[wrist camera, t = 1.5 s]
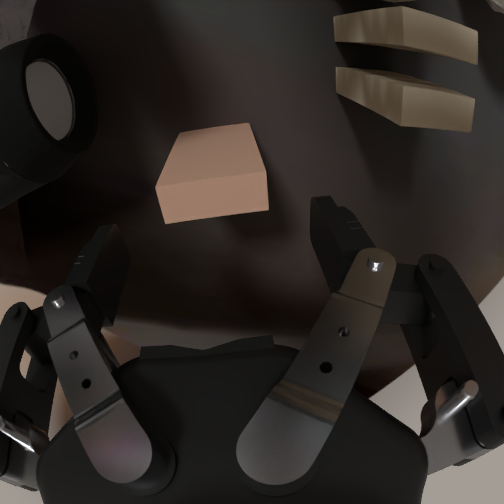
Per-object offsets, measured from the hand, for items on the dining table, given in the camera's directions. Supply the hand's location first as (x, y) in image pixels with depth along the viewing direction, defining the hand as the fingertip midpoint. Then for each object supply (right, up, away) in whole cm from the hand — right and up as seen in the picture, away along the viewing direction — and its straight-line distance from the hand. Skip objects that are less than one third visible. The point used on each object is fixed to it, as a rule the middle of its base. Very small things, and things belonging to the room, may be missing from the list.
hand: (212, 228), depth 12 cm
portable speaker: (-22, +9, +5) cm, 24 cm away
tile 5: (-1, +7, +9) cm, 11 cm away
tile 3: (+10, +15, +4) cm, 18 cm away
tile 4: (+10, +12, +6) cm, 17 cm away
